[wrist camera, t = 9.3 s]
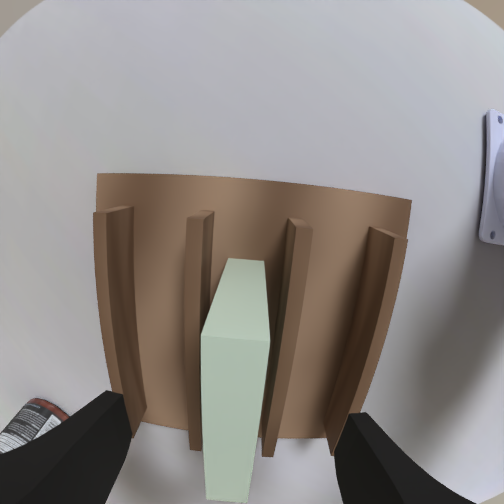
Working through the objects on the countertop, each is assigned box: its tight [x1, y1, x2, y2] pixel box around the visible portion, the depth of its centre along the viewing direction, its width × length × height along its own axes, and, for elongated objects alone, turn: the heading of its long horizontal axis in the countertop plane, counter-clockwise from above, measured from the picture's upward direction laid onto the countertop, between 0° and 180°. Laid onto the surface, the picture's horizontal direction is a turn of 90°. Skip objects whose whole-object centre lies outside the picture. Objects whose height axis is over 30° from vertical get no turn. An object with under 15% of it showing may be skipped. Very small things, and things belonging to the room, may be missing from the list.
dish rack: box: [93, 173, 412, 457], centre depth 13 cm, size 15×15×4 cm
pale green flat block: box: [201, 258, 270, 503], centre depth 11 cm, size 2×8×7 cm, turn 176°
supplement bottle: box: [0, 398, 69, 454], centre depth 13 cm, size 6×6×11 cm
